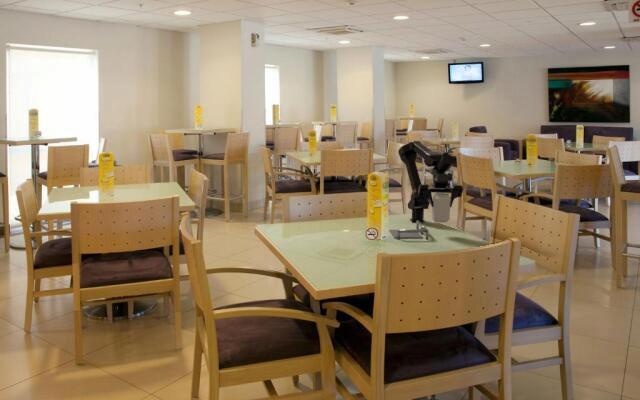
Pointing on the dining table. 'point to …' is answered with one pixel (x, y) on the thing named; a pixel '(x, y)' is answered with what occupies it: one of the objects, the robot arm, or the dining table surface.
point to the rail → (415, 230)
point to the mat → (405, 234)
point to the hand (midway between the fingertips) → (441, 206)
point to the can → (441, 207)
